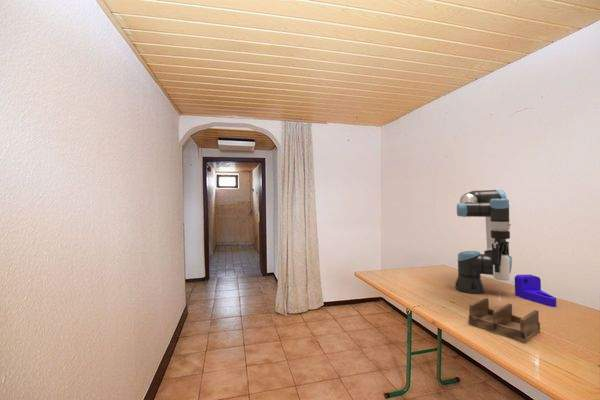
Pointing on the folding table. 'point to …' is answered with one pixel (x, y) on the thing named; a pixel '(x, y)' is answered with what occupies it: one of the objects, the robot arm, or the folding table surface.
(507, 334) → the rack
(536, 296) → the bracket
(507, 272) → the can
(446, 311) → the folding table surface
